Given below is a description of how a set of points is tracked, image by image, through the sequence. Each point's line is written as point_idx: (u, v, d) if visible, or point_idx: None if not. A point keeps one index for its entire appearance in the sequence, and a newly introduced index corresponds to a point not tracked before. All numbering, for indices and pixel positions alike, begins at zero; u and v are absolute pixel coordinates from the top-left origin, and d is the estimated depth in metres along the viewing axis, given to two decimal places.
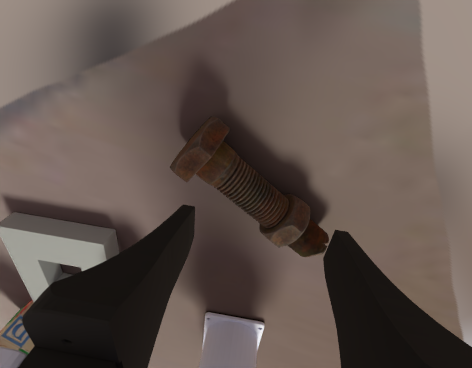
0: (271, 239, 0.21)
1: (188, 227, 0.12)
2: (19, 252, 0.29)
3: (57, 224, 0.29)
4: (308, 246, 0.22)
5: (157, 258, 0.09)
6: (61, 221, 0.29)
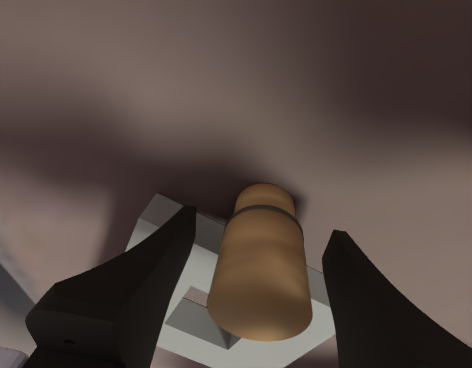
0: None
1: (190, 227, 0.12)
2: None
3: None
4: None
5: (159, 258, 0.09)
6: None
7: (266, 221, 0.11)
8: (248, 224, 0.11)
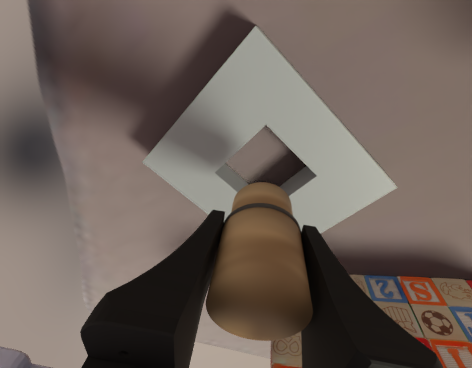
0: None
1: (220, 232, 0.12)
2: (191, 182, 0.20)
3: None
4: None
5: (201, 266, 0.09)
6: None
7: (267, 219, 0.11)
8: (249, 222, 0.11)
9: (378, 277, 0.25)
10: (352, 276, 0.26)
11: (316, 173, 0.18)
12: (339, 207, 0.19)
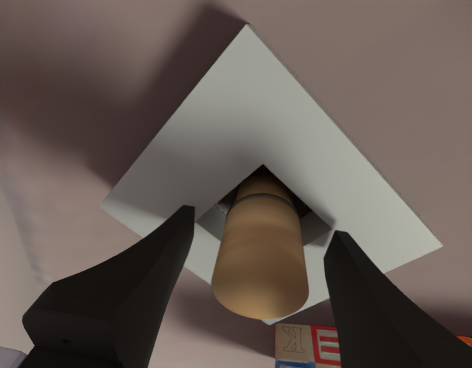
0: None
1: (188, 227, 0.12)
2: None
3: None
4: None
5: (157, 258, 0.09)
6: None
7: (268, 208, 0.12)
8: (251, 210, 0.12)
9: None
10: None
11: (332, 226, 0.13)
12: None
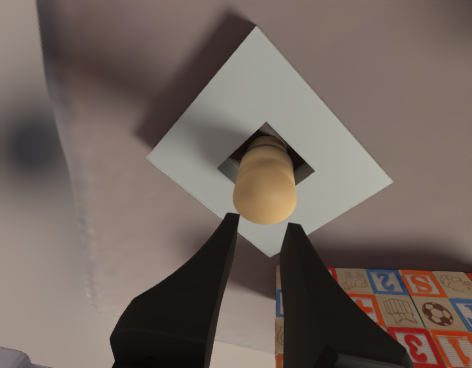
0: None
1: (236, 235, 0.12)
2: (194, 177, 0.20)
3: None
4: None
5: (222, 270, 0.09)
6: None
7: (270, 151, 0.17)
8: (258, 152, 0.17)
9: (380, 271, 0.26)
10: (354, 270, 0.26)
11: (315, 168, 0.19)
12: (337, 202, 0.20)
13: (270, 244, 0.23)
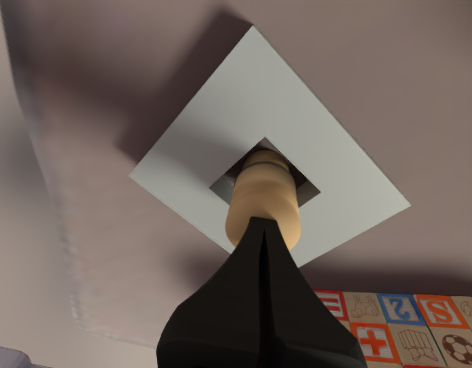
0: None
1: (261, 239, 0.12)
2: (183, 197, 0.18)
3: None
4: None
5: (257, 276, 0.09)
6: None
7: (269, 171, 0.15)
8: (256, 172, 0.15)
9: (392, 295, 0.24)
10: (363, 294, 0.24)
11: (321, 189, 0.16)
12: (346, 226, 0.17)
13: None
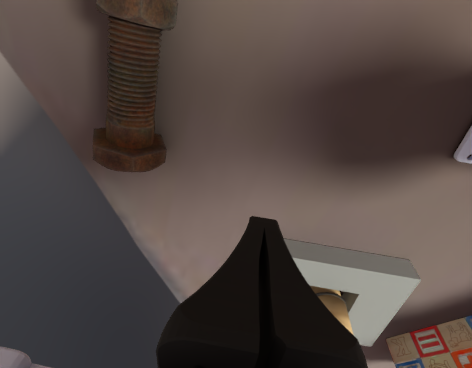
0: (137, 14, 0.14)
1: (261, 239, 0.12)
2: None
3: None
4: None
5: (257, 276, 0.09)
6: None
7: None
8: None
9: None
10: (454, 322, 0.29)
11: (358, 293, 0.26)
12: (390, 302, 0.26)
13: (363, 339, 0.29)
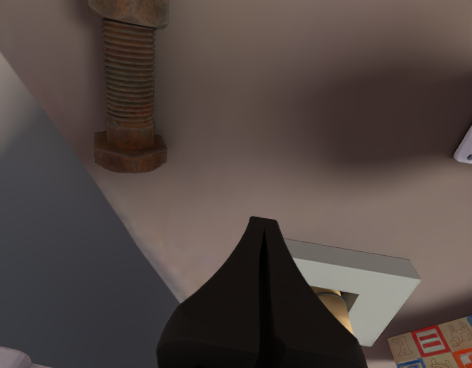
0: (128, 14, 0.14)
1: (261, 239, 0.12)
2: None
3: None
4: None
5: (257, 276, 0.09)
6: None
7: None
8: None
9: None
10: (455, 322, 0.29)
11: (358, 293, 0.26)
12: (390, 303, 0.26)
13: (363, 339, 0.29)
